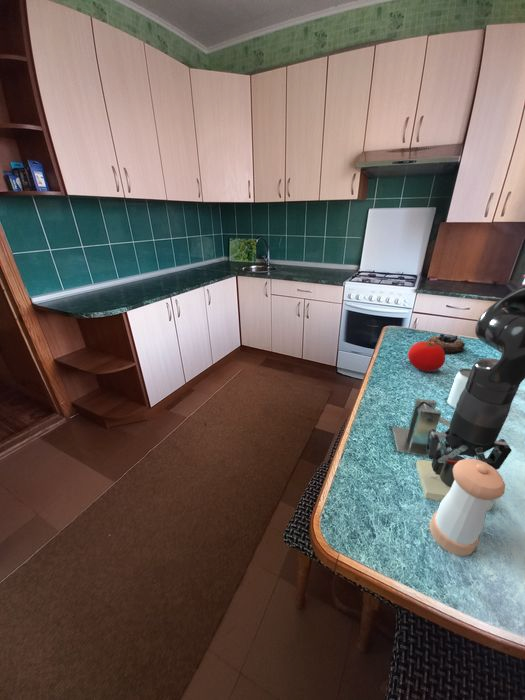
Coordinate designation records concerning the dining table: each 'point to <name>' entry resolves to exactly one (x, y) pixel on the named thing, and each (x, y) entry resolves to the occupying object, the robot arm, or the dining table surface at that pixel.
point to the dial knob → (449, 470)
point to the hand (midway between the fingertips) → (454, 474)
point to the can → (458, 386)
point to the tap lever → (440, 416)
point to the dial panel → (432, 482)
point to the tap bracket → (417, 429)
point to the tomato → (426, 356)
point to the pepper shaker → (466, 506)
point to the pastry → (449, 343)
